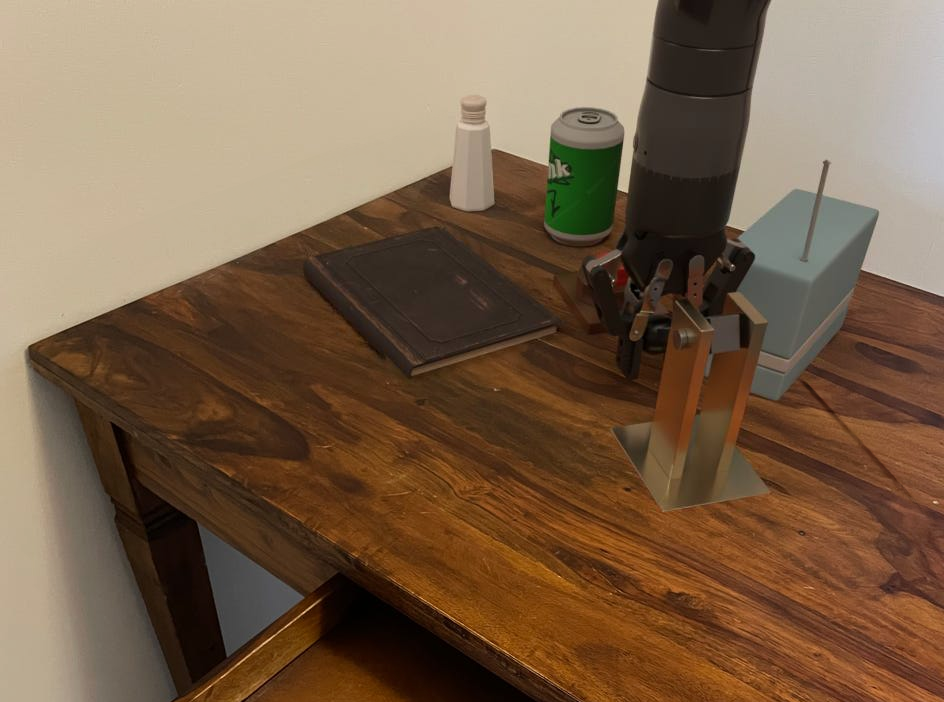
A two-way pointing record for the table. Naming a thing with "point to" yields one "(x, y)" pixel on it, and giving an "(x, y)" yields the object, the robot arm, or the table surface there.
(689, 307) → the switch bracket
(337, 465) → the table surface
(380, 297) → the hardcover book
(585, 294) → the brown button base
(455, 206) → the pepper shaker
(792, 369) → the radio
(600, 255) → the stop button
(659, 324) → the switch lever
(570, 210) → the soda can
